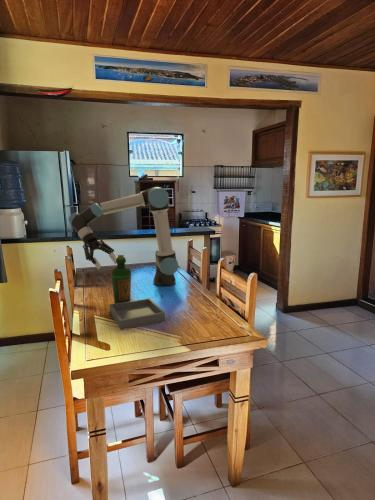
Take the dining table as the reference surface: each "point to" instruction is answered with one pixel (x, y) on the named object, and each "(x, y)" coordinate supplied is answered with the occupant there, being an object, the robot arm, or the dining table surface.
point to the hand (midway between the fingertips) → (108, 265)
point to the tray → (136, 313)
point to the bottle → (121, 281)
